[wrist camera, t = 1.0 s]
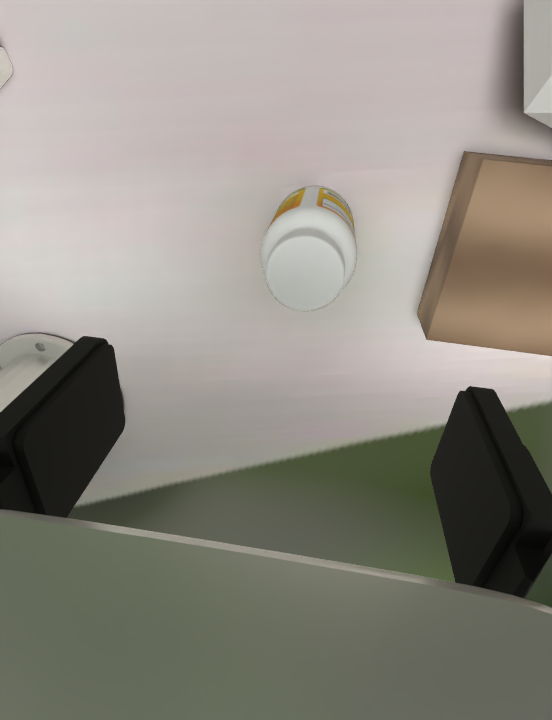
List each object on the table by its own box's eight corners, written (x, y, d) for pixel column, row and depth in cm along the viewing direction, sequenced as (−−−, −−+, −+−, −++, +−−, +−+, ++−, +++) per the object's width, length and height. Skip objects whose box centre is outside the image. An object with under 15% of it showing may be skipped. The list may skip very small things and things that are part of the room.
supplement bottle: (276, 263, 31) (254, 323, 23) (273, 185, 28) (247, 221, 20) (351, 264, 30) (355, 325, 22) (355, 183, 27) (362, 220, 19)
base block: (568, 333, 31) (596, 361, 27) (417, 313, 31) (426, 339, 28) (652, 170, 25) (702, 181, 22) (464, 151, 26) (482, 159, 22)
